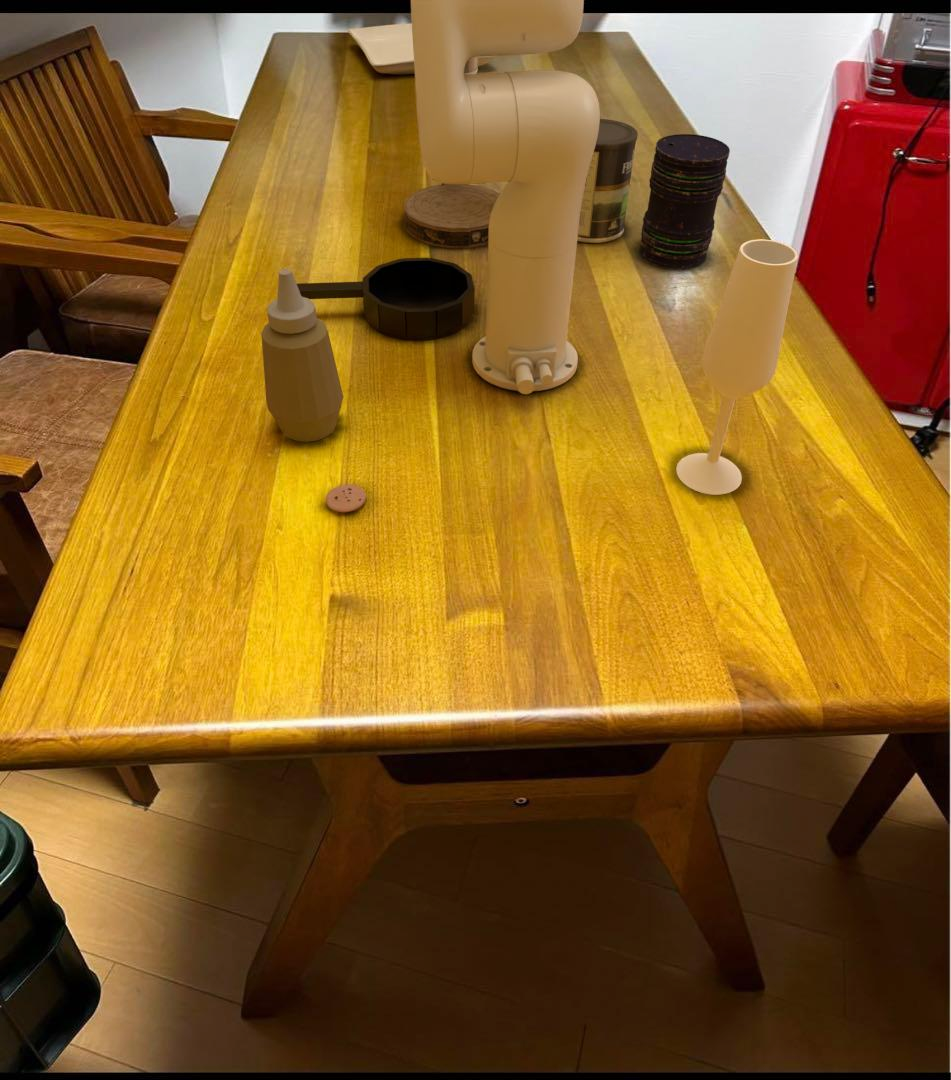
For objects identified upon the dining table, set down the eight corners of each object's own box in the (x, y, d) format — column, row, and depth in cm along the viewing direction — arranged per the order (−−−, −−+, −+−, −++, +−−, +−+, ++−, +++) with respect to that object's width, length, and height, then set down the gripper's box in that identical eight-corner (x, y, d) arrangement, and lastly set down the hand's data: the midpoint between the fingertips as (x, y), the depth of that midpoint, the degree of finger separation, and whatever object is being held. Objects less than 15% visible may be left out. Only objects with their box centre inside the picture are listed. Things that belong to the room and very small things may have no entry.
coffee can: (626, 217, 131) (640, 121, 121) (621, 246, 124) (635, 147, 114) (560, 210, 132) (568, 115, 122) (551, 239, 125) (559, 140, 115)
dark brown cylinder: (710, 244, 125) (733, 138, 114) (704, 274, 118) (728, 165, 107) (642, 235, 127) (659, 130, 116) (633, 264, 120) (650, 155, 109)
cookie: (375, 499, 83) (374, 492, 83) (344, 520, 81) (343, 512, 80) (348, 482, 85) (347, 474, 84) (317, 502, 83) (316, 494, 82)
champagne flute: (662, 472, 87) (711, 251, 70) (700, 444, 91) (755, 227, 74) (717, 504, 84) (783, 279, 67) (754, 474, 87) (825, 253, 70)
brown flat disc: (512, 205, 133) (513, 186, 131) (506, 251, 122) (506, 231, 120) (412, 200, 134) (411, 181, 132) (397, 245, 123) (396, 225, 121)
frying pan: (478, 338, 105) (478, 309, 102) (282, 345, 103) (278, 316, 100) (468, 283, 115) (468, 255, 112) (289, 289, 113) (285, 261, 110)
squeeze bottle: (311, 396, 96) (288, 244, 83) (362, 424, 92) (346, 269, 80) (255, 429, 91) (223, 273, 79) (306, 460, 88) (281, 302, 75)
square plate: (347, 45, 195) (346, 26, 192) (461, 38, 201) (461, 19, 198) (373, 81, 176) (372, 61, 174) (497, 72, 182) (498, 52, 180)
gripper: (422, 42, 125) (425, 167, 138) (428, 76, 115) (430, 208, 128) (472, 42, 126) (470, 167, 139) (483, 76, 116) (479, 207, 129)
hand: (451, 186), depth 134 cm, fingers closed
